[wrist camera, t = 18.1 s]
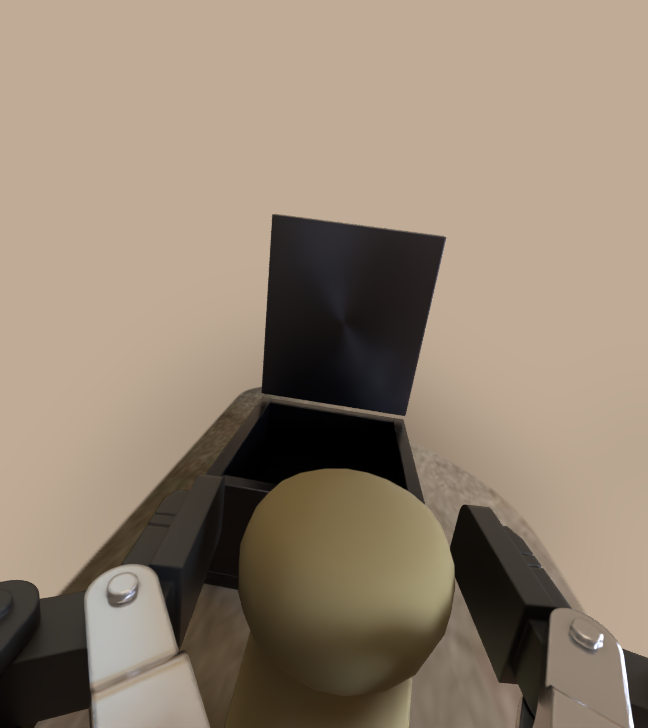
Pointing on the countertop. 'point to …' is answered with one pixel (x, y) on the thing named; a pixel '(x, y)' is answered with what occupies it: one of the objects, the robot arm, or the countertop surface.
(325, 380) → the warmer lid
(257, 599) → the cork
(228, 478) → the box
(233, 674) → the countertop surface
